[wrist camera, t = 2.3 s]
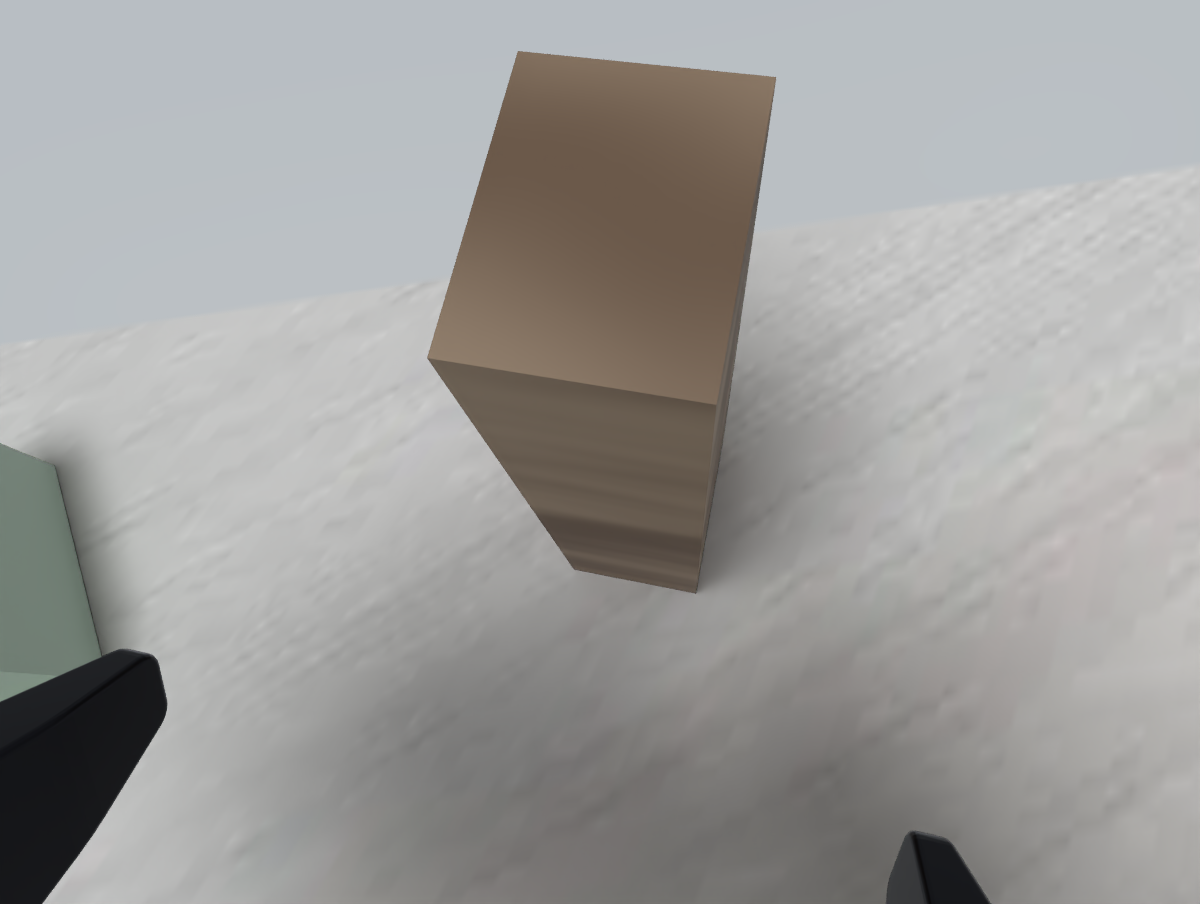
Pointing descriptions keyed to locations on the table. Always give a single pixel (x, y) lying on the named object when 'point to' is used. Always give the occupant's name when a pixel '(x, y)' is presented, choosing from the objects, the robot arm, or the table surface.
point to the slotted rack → (38, 579)
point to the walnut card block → (609, 300)
